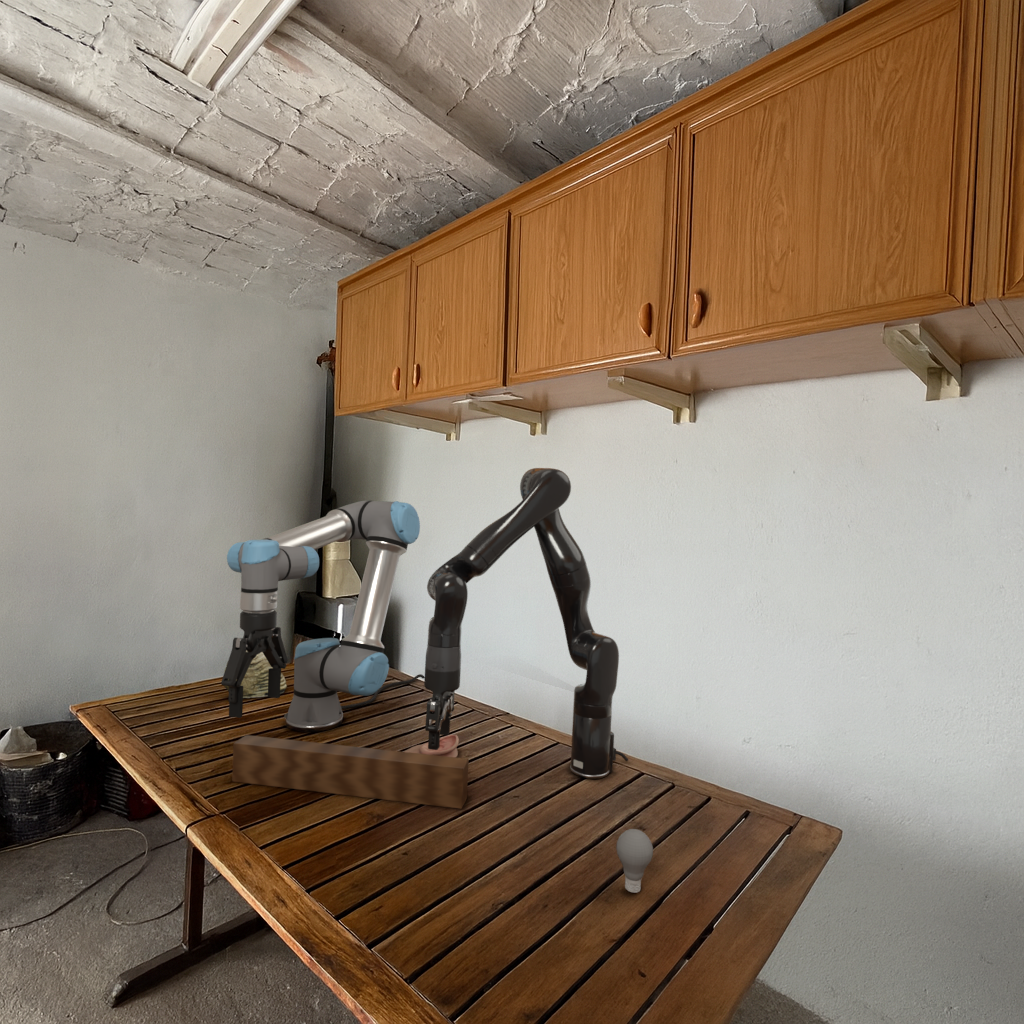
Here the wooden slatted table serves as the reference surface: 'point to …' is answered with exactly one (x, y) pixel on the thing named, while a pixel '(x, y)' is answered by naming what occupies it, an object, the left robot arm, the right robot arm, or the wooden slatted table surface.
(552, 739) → the wooden slatted table surface
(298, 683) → the left robot arm
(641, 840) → the light bulb
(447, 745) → the anatomical model
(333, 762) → the beam
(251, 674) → the fossil
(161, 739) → the wooden slatted table surface
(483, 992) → the wooden slatted table surface
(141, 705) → the wooden slatted table surface
